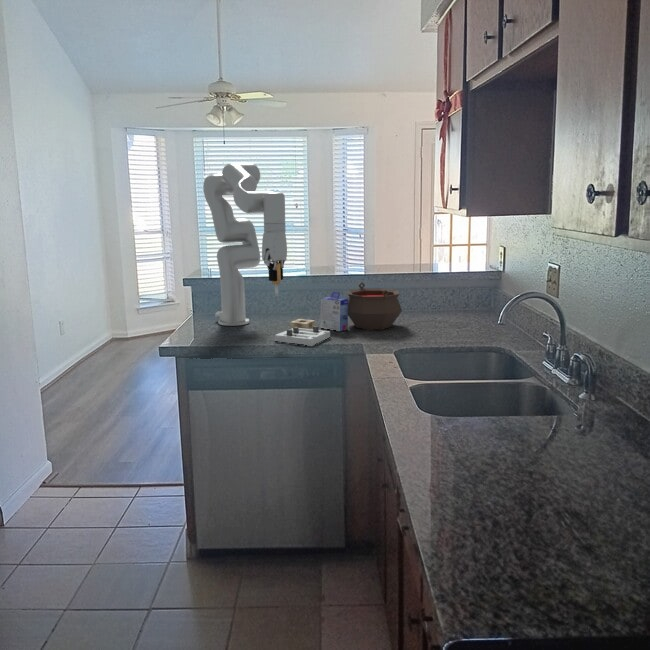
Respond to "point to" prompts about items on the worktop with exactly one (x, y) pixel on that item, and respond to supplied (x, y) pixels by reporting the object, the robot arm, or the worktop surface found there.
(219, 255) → the robot arm
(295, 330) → the tab
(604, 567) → the worktop surface
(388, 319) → the brown cauldron pot
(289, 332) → the tab
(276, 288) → the tan rounded cylinder
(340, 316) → the ink cartridge box
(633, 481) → the worktop surface
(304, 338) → the switch bank
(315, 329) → the tab
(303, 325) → the stand
